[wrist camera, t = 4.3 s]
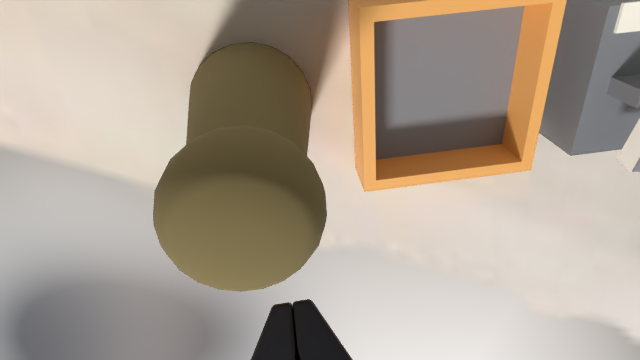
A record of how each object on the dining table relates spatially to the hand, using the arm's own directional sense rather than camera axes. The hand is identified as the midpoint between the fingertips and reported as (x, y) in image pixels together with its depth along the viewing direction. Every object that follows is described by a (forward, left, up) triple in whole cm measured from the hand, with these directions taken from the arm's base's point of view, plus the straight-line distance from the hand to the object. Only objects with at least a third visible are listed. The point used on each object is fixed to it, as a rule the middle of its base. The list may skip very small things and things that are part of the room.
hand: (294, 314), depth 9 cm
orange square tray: (-8, 0, -14) cm, 16 cm away
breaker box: (-17, 0, -14) cm, 22 cm away
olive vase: (+1, 0, -14) cm, 14 cm away
